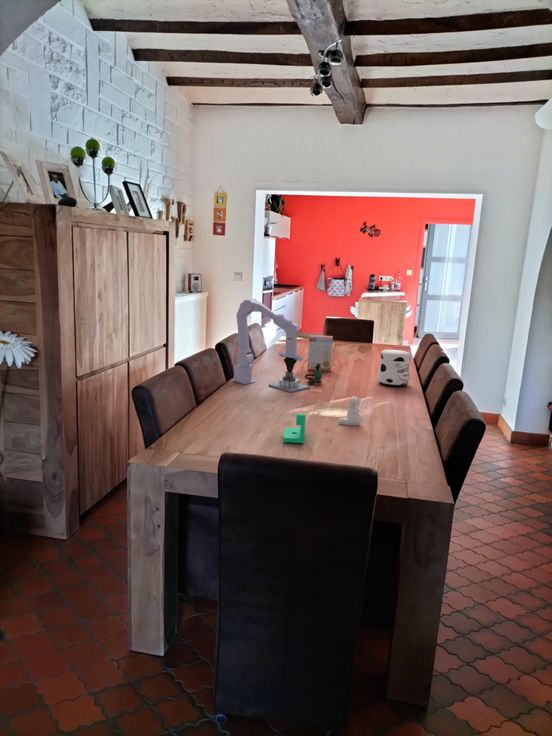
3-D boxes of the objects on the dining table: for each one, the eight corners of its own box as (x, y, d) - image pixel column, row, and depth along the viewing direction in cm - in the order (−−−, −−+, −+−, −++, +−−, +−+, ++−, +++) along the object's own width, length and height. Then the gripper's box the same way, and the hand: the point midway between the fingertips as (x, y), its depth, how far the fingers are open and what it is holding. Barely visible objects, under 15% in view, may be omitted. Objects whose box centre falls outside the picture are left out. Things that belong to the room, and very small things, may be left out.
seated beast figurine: (348, 418, 232) (350, 392, 229) (366, 423, 226) (368, 396, 224) (336, 423, 224) (338, 396, 222) (354, 428, 219) (356, 400, 216)
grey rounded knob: (279, 384, 280) (280, 371, 278) (288, 382, 284) (289, 369, 283) (288, 387, 275) (289, 374, 273) (298, 385, 280) (298, 372, 278)
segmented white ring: (275, 384, 280) (275, 378, 279) (288, 382, 287) (288, 376, 286) (289, 388, 273) (289, 382, 272) (302, 385, 280) (303, 380, 279)
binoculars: (305, 363, 294) (323, 363, 292) (306, 382, 296) (324, 382, 294) (302, 366, 285) (321, 366, 283) (303, 385, 287) (322, 385, 285)
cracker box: (330, 369, 326) (333, 335, 321) (330, 372, 320) (333, 337, 315) (307, 368, 327) (309, 334, 322) (307, 370, 321) (309, 335, 316)
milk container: (409, 389, 287) (412, 356, 283) (376, 386, 290) (379, 353, 286) (408, 382, 303) (411, 350, 299) (377, 379, 306) (380, 348, 303)
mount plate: (268, 386, 280) (268, 384, 280) (286, 382, 290) (287, 380, 290) (291, 392, 270) (291, 390, 269) (309, 388, 280) (309, 386, 279)
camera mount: (285, 433, 210) (286, 408, 208) (304, 435, 209) (306, 409, 207) (282, 444, 198) (284, 417, 196) (303, 445, 198) (305, 419, 196)
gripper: (275, 345, 277) (274, 370, 280) (296, 349, 268) (295, 375, 270) (284, 343, 282) (283, 368, 285) (305, 347, 273) (304, 374, 275)
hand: (289, 372), depth 278 cm, fingers closed, pressing on grey rounded knob
